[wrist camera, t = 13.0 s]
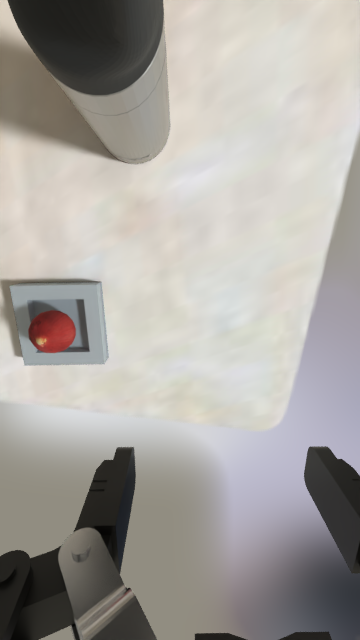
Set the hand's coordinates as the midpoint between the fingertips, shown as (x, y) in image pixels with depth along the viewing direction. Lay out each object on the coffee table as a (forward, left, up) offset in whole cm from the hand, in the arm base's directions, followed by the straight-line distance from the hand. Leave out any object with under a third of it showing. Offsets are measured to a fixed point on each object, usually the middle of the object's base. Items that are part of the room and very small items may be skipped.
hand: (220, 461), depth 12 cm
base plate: (+2, -19, -30) cm, 35 cm away
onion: (+2, -19, -29) cm, 35 cm away
